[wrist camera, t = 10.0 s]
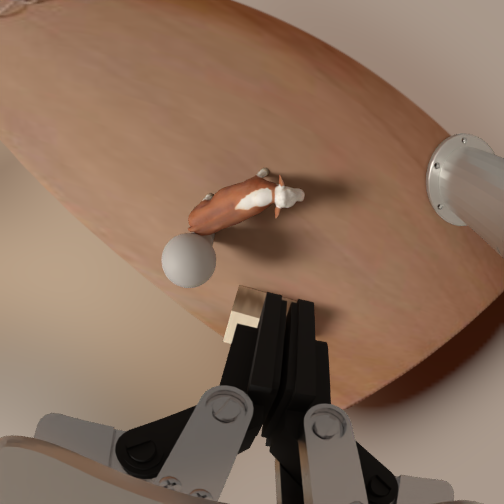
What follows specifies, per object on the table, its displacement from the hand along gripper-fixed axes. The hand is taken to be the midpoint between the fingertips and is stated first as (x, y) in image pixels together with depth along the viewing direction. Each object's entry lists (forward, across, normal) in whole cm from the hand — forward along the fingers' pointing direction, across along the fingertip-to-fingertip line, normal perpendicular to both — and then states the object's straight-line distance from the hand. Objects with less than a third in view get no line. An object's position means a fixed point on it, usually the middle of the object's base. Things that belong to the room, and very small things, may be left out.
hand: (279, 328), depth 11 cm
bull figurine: (+28, +5, +4) cm, 28 cm away
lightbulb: (+28, +9, +11) cm, 31 cm away
